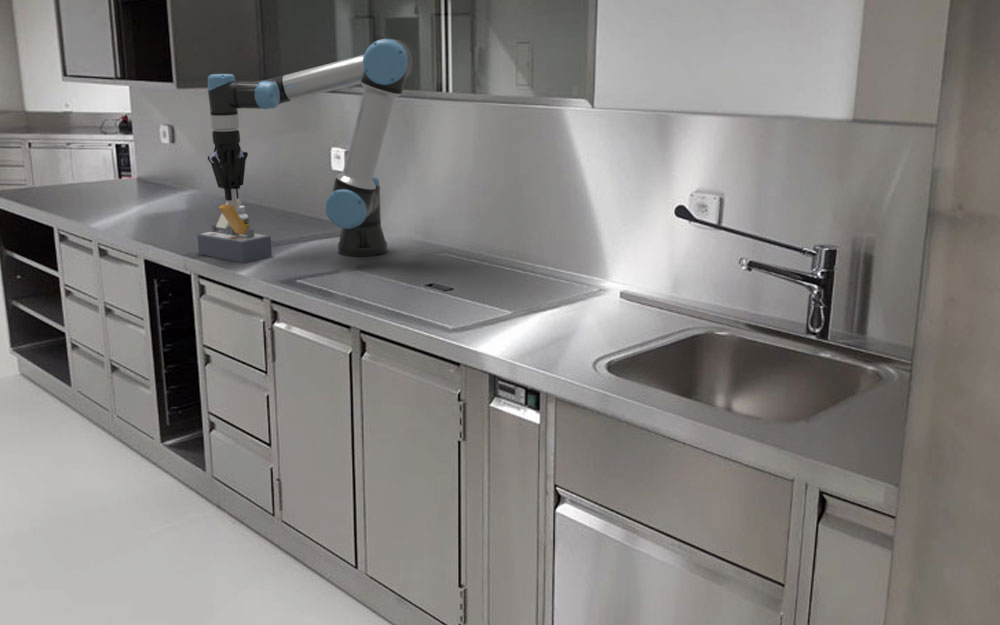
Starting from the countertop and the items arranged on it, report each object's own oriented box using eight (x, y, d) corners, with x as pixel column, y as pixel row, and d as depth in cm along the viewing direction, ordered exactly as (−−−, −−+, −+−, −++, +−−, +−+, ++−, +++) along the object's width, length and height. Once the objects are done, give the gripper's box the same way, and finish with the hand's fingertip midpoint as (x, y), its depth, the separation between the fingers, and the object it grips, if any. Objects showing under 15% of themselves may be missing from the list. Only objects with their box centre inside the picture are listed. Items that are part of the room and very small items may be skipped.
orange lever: (251, 233, 275) (233, 206, 268) (248, 236, 274) (230, 209, 267) (238, 231, 278) (220, 204, 271) (235, 234, 277) (217, 207, 270)
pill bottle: (244, 245, 293) (241, 208, 290) (225, 244, 295) (222, 208, 291) (253, 240, 300) (251, 205, 296) (235, 239, 301) (232, 204, 297)
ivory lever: (229, 233, 280) (243, 201, 282) (225, 230, 278) (239, 199, 281) (217, 230, 283) (231, 199, 285) (213, 228, 281) (227, 197, 284)
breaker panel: (272, 256, 279) (270, 227, 276) (243, 263, 270) (240, 234, 268) (228, 247, 290) (225, 220, 287) (199, 254, 281) (196, 226, 279)
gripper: (234, 126, 272) (241, 206, 279) (198, 131, 262) (206, 213, 269) (252, 128, 268) (258, 208, 275) (215, 132, 258) (223, 216, 265)
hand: (233, 210), depth 272 cm, fingers closed
